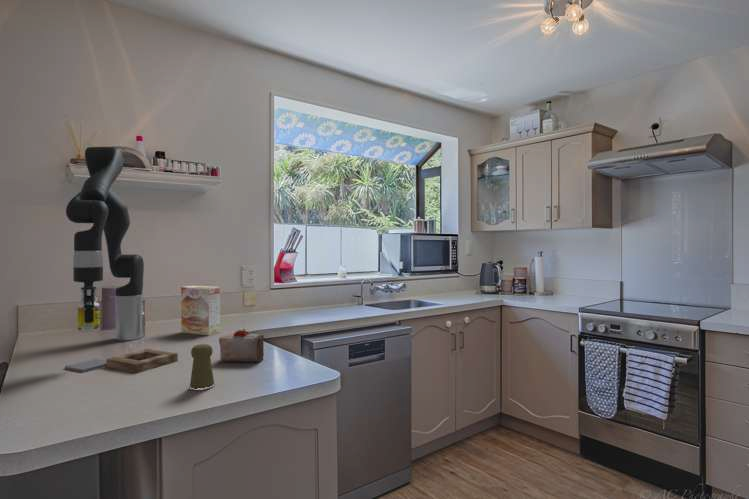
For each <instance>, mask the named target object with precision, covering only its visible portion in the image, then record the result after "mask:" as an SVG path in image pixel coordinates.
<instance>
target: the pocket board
mask: <svg viewBox="0 0 749 499" xmlns="http://www.w3.org/2000/svg"><path fill="white" fill-rule="evenodd" d="M178 354H179V353H178V352H171V351H164V350H159V349H152V348H146V349H141V350H138V351H134V352H129V353H125V354H121V355H117V356H113V357H108V358H106V359H105V361H106V368H111V369H115V368H116V370H120V369H121V370H122V371H126V372H131V371H132V372H131V373H136V372H138V373H141V372H144V371H147V370H146V369H148V370H151V369H154V368H153V367H155V368H158V367H161V365H162V366H165V365H167V364H172V363H175V362H178V361H179V360H178V358H179V356H178ZM174 361H175V362H174ZM171 362H172V363H171ZM164 364H165V365H164ZM157 366H158V367H157ZM150 368H151V369H150ZM143 370H144V371H143ZM140 371H141V372H140Z"/></svg>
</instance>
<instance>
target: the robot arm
mask: <svg viewBox="0 0 749 499" xmlns="http://www.w3.org/2000/svg"><path fill="white" fill-rule="evenodd" d="M84 159H85V164H86V168H87V171H88V174H89V177H88V178H87V179H86V180H85V181H84V183H83V186H82V188H81V190H80V191H79V192H78V193H77V194H76V195H75V196H74V197H72V198H71V199H70V200H69V201H68V203H67V205H66V208H65V214H66V217H67V219H68V220H69V221H71V222H73V223H75V224H92V227H90V228H89V229H87V230H79V231H76V232H75V233H74V235H73V251H74V252H73V257H72V258H73V260H72V264H73V270H72V271H73V272H72V273H73V276H72V277H73V278H72V279H73V282H75V283H83V287H80V294H81V298H82V303H84V310H85V323H92V322H93V321H94V319H93V310H94V307H95V305H94V303H95V301H96V300H97V296H96V294H97V286H94V283H95V282H102V281H103V280H104V258H103V249H102V248H103V245H102V244H103V242H102V241H103V240H102V239H103V232H104V237H105V242H106V247H107V248H106V249H107V256H108V264H109V268H110V272H111V274H112V276H113V277H114V278H116V279H119V278H120V279H121V278H123V279H129V282H128V283H126V284H125V285H123V286H119V287H116V289H115V293H114V294H115V340H116V341H134V340H138V339H142V338H144V337H146V314H145V312H143V288H144V273H145V272H144V270H145V268H144V267H145V265H144V264H145V262H144V259H143V256H141V255H140V254H123V253H122V248H121V247H122V242H123V239H124V237H125V236H126V233H127V231H128V229H129V227H130V223H131V220H130V214H129V209H128V206H127V204H126V202H124V201H123V199H122V198H121V197H120V196H119V195H118V194H117V193H116V192H114V191H113V190H112V188H111V187H112V185H113V184H114V183H115V181H116V180H117V178H118V177H119V175H120V174H121V173H122V171H123V170H124V169H123V168H124V155H123V153H122V151H121V149H119V147H117V146H87V147H85V150H84ZM96 302H97V301H96ZM82 303H81V304H82ZM86 303H92V304H90V305H86Z"/></svg>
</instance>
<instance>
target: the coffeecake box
mask: <svg viewBox="0 0 749 499" xmlns="http://www.w3.org/2000/svg"><path fill="white" fill-rule="evenodd" d="M180 291H181V292H180V293H181V294H180V298H181V300H180V301H181V302H180V305H181V306H180V307H181V308H180V309H181V311H180V313H181V314H180V315H181V316H180V317H181V320H180V321H181V333H182V334H190V335H191V334H192V335H200V336H201V335H202V336H212V335H215V334H220V333H221V292H220V291H221V286H210V285H207V286H206V285H186V286H185V285H184V286H180Z"/></svg>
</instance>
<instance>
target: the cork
mask: <svg viewBox="0 0 749 499" xmlns="http://www.w3.org/2000/svg"><path fill="white" fill-rule="evenodd" d="M213 353H214V352H213V347H212V345H210V344H208V343H206V344H204V343H203V344H202V343H201V344H196V345H194V346H193V347H192V348H191V350H190V354H191V357H192V358H193V360H192V368H191V375H190V383H189V388H190V387H191V388H194V389H197V388H205V387H210V386H212V385H213V384H214V385H215V381H214V380H215V379H214V373H213V366H212V360H211V359H212V358H211V357H212V355H213Z"/></svg>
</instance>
